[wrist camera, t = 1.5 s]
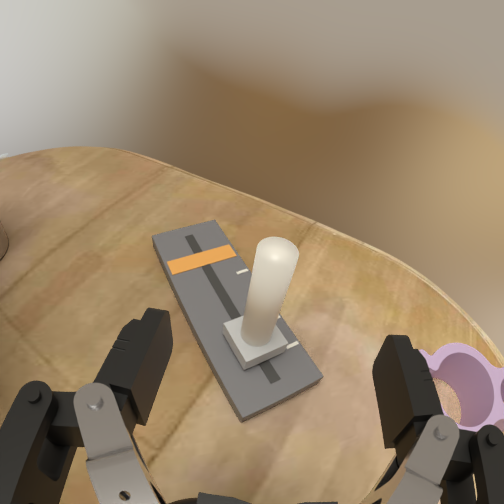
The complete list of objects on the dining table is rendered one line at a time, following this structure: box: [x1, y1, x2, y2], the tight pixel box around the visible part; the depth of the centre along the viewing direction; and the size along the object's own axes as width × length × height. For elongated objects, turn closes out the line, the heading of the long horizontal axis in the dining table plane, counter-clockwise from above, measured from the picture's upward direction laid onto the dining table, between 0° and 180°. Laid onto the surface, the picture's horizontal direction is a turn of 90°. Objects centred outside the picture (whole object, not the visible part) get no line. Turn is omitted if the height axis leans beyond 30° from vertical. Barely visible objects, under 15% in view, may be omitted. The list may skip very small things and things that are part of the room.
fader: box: [223, 237, 299, 370], centre depth 29 cm, size 5×5×14 cm
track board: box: [152, 220, 323, 422], centre depth 39 cm, size 28×10×2 cm, turn 29°
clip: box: [419, 343, 504, 432], centre depth 29 cm, size 20×12×7 cm, turn 74°
